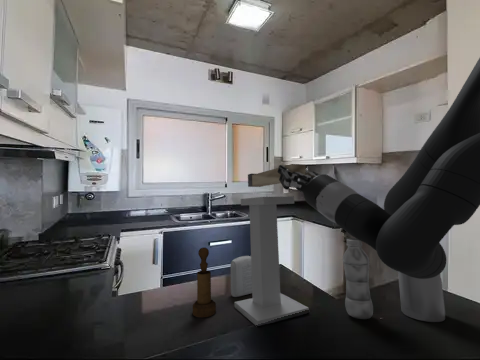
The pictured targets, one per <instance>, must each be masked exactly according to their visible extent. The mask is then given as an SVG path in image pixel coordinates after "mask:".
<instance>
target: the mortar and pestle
mask: <svg viewBox="0 0 480 360" xmlns="http://www.w3.org/2000/svg"><path fill="white" fill-rule="evenodd" d="M209 254H210V251H209V249H208V248H207V247H201V248H199V250H198V256H199V259H200V260H201V261H200V263H199V266H200V267H199V268H200V270H199V271H197V273H196V274H197V275H196V277H197V278H196V279H197V281H196V282H197V283H196V285H197V286H196V287H197V289H196V290H197V291H196V292H197V293H196V300H195V301H194V303H193V304H192V315H193V316H194V317H196V318H208V317H211V316H214V315H215V314H216V312H217V305H216V304H217V303H216V301H214V300H213V299H212V282H211V281H212V275H211V274H212V272H211V271H210V270H208V267H209V266H208V265H209V263H208V262H207V258H208V256H209Z"/></svg>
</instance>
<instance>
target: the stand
mask: <svg viewBox="0 0 480 360" xmlns="http://www.w3.org/2000/svg"><path fill="white" fill-rule="evenodd" d="M287 204H288V205H290V204H291V205H292V204H295V197H294V196H257V197H247V198H240V206H249V207H248V208H249V227H250V229H249V230H250V231H249V234H250V235H249V236H250V256H251V269H252V293H251V295H252V298H247V299H243V300H237V301H234V309H236V310H237V311H238V312H239V313H241V314H242V315H243V316H244V317H245V318H246V319H248V320H249V321H250V322H251V323H252V324H253V325H255V326H256V325H258V324H261V323H265V322H268V321H271V320H274V319H277V318H281V317H284V316H288V315H292V314H295V313H299V312H302V311H305V310H309V311H310V309H309V307H308V306H306V305H304V304H302V303H300V302H299V301H297V300H295V299H293V298H291V297H289V296H287V295H286V294H283V293H281V276H280V275H281V274H280V258H279V257H280V255H279V236H278V235H279V234H278V233H279V231H278V213H277V211H278V209H277V208H278V207H277V205H287Z"/></svg>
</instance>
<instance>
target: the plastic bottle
mask: <svg viewBox="0 0 480 360" xmlns="http://www.w3.org/2000/svg"><path fill="white" fill-rule="evenodd" d="M345 245H346V246H347V249H346V250H345V252H344V253H343V255H342V259H341V260H342V264H343V268H344V274H345V282H346V285H345V289H346V290H345V293H346V295H345V300H344V306H345V310H346V312H347V314H348V315H349V316H351V317H352V318H355V319H359V320H367V319H368V320H370V318H371V317H372V316H373V315H374V314H373V313H374V305H373V302H372V299H371V292H370V285H369V284H370V283H369V276H370V275H369V270H370V258H369V255H368V254H367V253H366V252H365V250H364V249H363V248H362V247H363V242H362V241H360V240H358V239H357V238H355V237H351V238H350V237H348V238H346V244H345Z"/></svg>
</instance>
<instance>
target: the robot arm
mask: <svg viewBox="0 0 480 360" xmlns="http://www.w3.org/2000/svg"><path fill="white" fill-rule="evenodd" d="M285 166H286V165H284V164H280V165H278V167H277V168H278V171H277V172H278V173H279V174H280V178H279V181H280V183H279V184H281V186H282V188H283V189H284V190H287V191H288V190H290V187H291V188H295V190H297V191H298V192H300V193H302V194H303V196H304V200H305V202H306V203H307V204H308V205H309V206H311V207H312V208H314V210H316V211H317V212H318V213H320V214H321V215H322V216H323V217H324V218H326V219H327V220H328V221H330V222H331V223H335V224H336V225H337V226H339V227H340V228H341V229H342V230H344V232H346V233H347V234H349V235H351V236H352V238H357V239H358V240H360V241H362V243H364V244H366V245H368V246H369V247H371V248H372V249H373V250H375V251H376V254H377V256H378V258H379V260H381V262H382V263H383V264H385V266H387V267H388V268H390V269H392V270H394V271H396V272H397V277H398V286H399V298H400V299H399V300H400V307H401V309H400V310H401V313H402V314H404V315H405V316H407V317H409V318H411V319H415V320H417V321H422V322H427V323H428V322H429V323H440V322H443V321H445V319H446V307H445V301H444V300H445V298H444V291H443V290H444V289H443V282H442V278H441V273H442V272H443V271H444V270H445V268H446V265H447V254H446V250H445V249H444V247H443V246H442V244H441V243H440V242H441V241H442V240H443V239H444V238H445V236H446V235H448V233H449V232H450V231H451V229H452V228H454V226H459V225H464V224H465V223H466V222H468V221H469V220H470V219H471V218H472V217H473V215H474V214H475V212H476V211H477V209H479V207H480V57H479V58H478V59H477V62H475V65H474V67H473V68H472V69H471V71H470V73H469V75H468V76H467V79H466V80H465V81H464V83H463V85H462V87H461V88H460V91H459V92H458V94H457V96H455V99H454V101H453V102H452V104H451V106H450V107H449V108H448V110H447V112H446V113H445V114H444V116H443V118H442V119H441V120H440V121H439V122H438V124H437V126H435V128H434V130H433V131H432V133H431V134H430V135H429V136H428V137H427V139H426V141H425V143H424V144H423V145H422V147H421V148H420V150H419V151H418V153H417V154H416V156H415V159H414V160H413V161H412V162H411V164H410V165H409V167H408V168H407V170H406V171H405V173H403V175H402V176H401V177H400V178H399V179H398V180H397V182H395V184H394V185H393V186H392V187H391V188H390V189H389V190H388V192H387V194H386V196H385V199H384V203H383V207H381V206H379V204H377V203H375V202H374V201H372V200H370V199H368V198H366V197H365V196H363V195H361V194H360V193H358V192H357V191H356V190H354V188H352V187H350V186H348V185H346V184H344V183H343V182H341V181H340V180H338V179H336V178H334V177H332V176H330V175H329V174H324V173H323V174H321V173H318V172H316V171H313V170H312V171H309V170H307V169H306V173H305V174H306V175H304V174H302V173H300V172H298V171H297V172H293V171H291V170H289V169H288V168H286V167H285ZM290 174H291V175H292V177H290Z"/></svg>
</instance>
